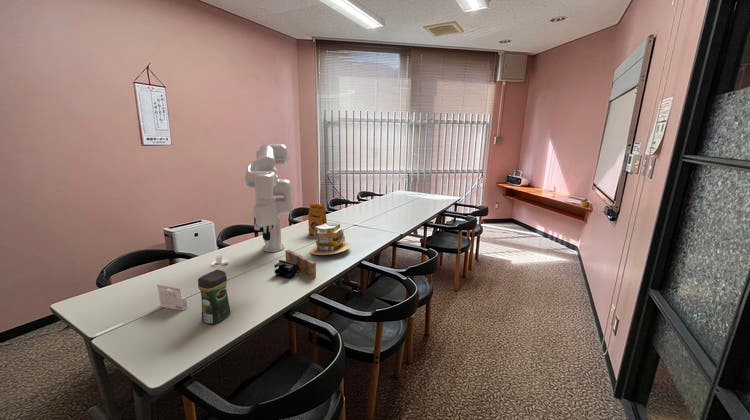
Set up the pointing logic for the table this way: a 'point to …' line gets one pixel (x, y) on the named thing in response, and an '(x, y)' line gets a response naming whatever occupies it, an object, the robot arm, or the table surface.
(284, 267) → the end cap
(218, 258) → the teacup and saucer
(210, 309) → the coffee jar
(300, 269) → the walnut board
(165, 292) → the ink cartridge box
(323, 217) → the coffee package
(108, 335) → the table surface
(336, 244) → the stacked tins on plate
